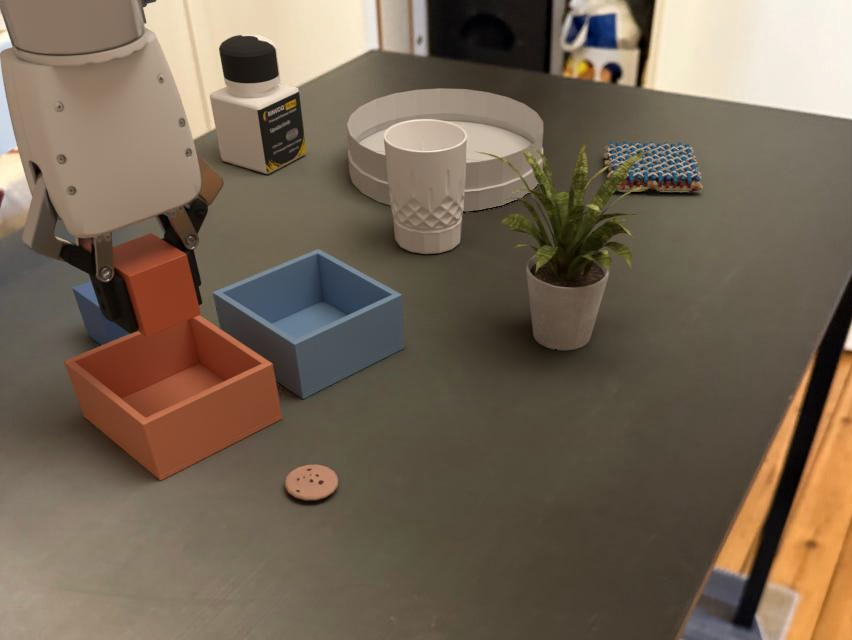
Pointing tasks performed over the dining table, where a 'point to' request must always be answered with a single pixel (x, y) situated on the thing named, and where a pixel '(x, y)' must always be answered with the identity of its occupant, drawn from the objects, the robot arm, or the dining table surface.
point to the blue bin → (313, 320)
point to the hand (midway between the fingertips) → (155, 309)
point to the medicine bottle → (256, 107)
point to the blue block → (95, 316)
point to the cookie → (311, 482)
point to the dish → (484, 173)
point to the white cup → (426, 183)
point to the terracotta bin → (175, 393)
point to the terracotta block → (156, 283)
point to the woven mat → (656, 166)
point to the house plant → (569, 251)
